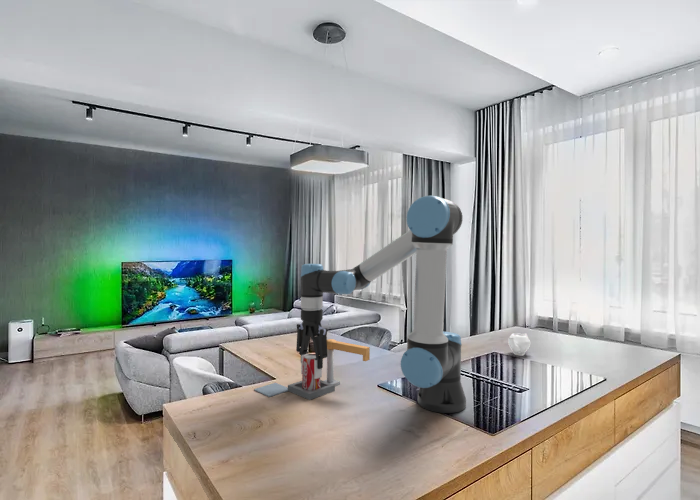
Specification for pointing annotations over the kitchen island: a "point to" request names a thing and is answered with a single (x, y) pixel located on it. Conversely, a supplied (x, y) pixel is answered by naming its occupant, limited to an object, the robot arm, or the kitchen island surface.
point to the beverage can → (309, 374)
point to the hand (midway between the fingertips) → (311, 375)
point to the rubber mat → (272, 389)
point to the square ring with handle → (325, 385)
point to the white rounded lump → (519, 343)
